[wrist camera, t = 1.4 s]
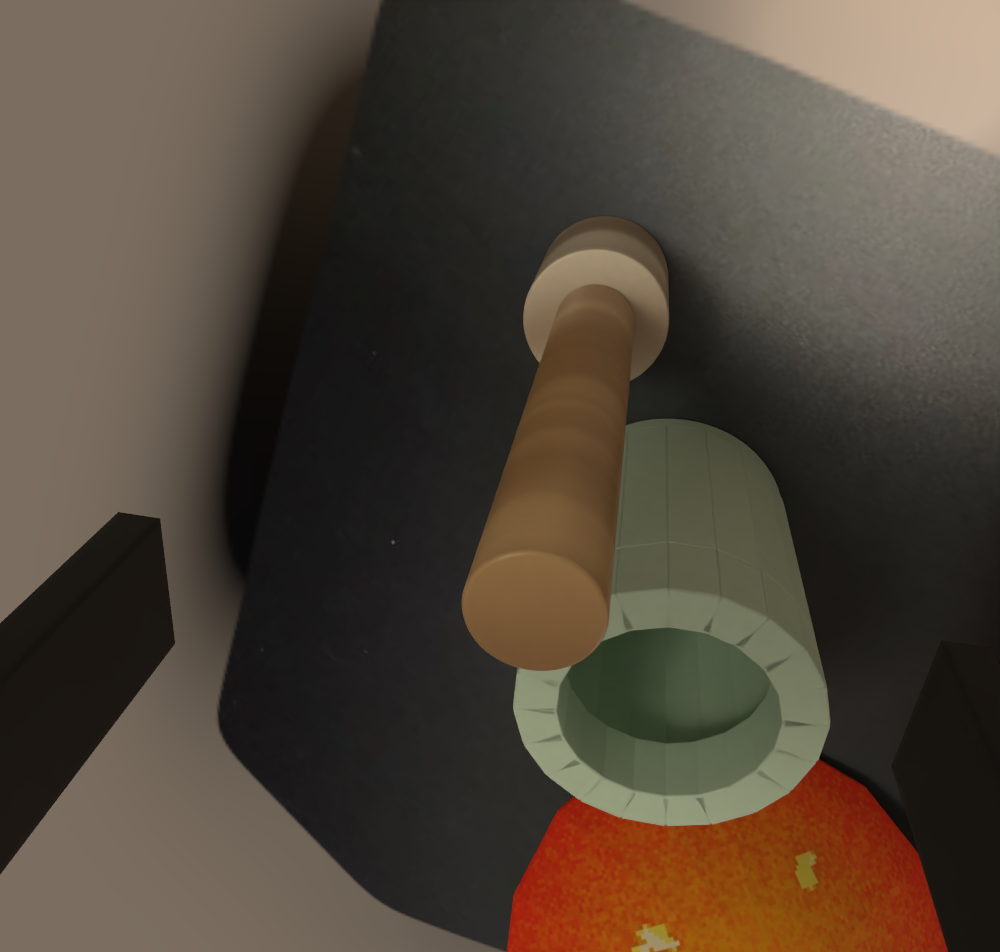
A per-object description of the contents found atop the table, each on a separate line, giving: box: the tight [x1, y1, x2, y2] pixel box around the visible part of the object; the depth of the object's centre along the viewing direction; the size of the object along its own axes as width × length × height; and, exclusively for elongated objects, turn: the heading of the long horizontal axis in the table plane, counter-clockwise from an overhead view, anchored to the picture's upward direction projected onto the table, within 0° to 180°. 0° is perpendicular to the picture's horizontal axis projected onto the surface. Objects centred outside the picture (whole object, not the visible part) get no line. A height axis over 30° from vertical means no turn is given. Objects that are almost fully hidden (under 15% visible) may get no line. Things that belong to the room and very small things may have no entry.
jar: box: [513, 419, 830, 826], centre depth 33 cm, size 10×10×12 cm
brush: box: [462, 216, 669, 671], centre depth 25 cm, size 5×5×21 cm
